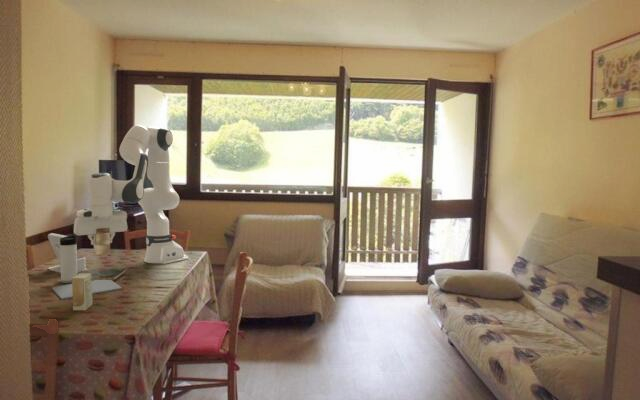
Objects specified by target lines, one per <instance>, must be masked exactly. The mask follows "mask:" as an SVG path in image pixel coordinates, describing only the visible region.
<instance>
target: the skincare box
mask: <svg viewBox="0 0 640 400" xmlns="http://www.w3.org/2000/svg"><path fill="white" fill-rule="evenodd" d="M92 281H93V279H92V273H89V272H88V273H86V272H84V273H83V272H79V273H77V275H76V276H75V277H73V278H72V283H71V284H72V292H73V298H72V310H73V311H86V310H87V309H89V308H90V307H91V306H92V305H93V294H92Z"/></svg>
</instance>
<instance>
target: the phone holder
mask: <svg viewBox="0 0 640 400" xmlns="http://www.w3.org/2000/svg"><path fill="white" fill-rule="evenodd" d="M67 236H68V235H64V234H60V233H53V232H51V233H49V234H47V239H48V241H49V244H50V245H51V247H52V250H53V252H54V255H55V256H56V258H57V260H58V263H59V265H55V266H49V267H48V268H47V270H48V269H49V270H48V271H53V272H55V273H60V274H61V262H60V239H61V238H63V237H67ZM86 262H87V261H86V256H77V273H82V272H85V270H86V271H88V268H86V267H87V266H86ZM81 271H82V272H81Z"/></svg>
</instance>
